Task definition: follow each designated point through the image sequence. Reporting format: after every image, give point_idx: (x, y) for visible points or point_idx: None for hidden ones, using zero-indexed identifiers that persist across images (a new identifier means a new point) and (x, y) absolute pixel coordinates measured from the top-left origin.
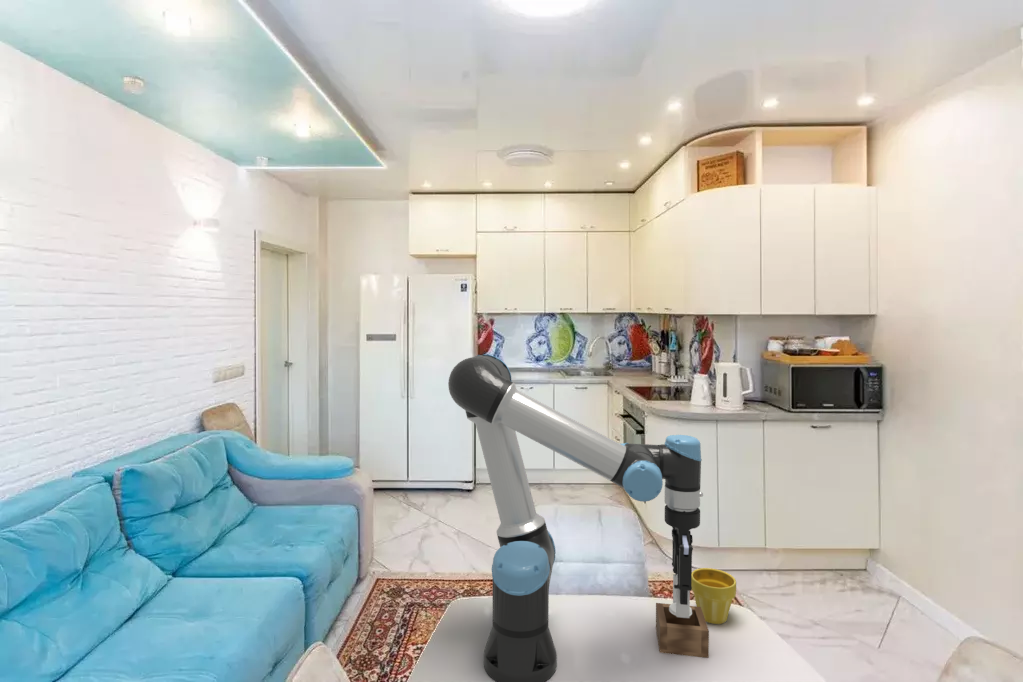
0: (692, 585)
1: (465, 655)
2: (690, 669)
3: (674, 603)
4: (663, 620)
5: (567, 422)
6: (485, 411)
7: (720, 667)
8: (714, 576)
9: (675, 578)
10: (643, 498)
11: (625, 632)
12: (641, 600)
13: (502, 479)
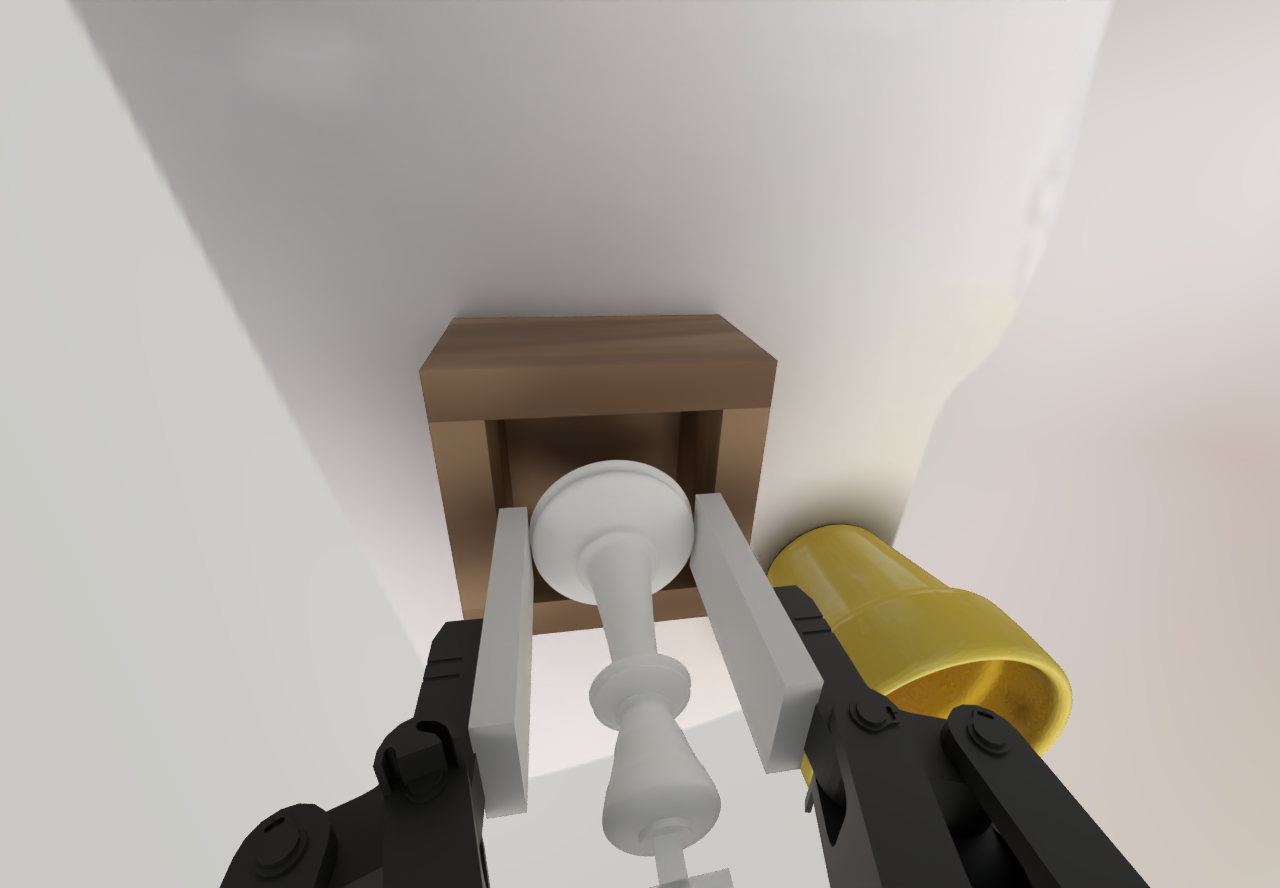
0: (915, 621)
1: None
2: (351, 461)
3: (656, 516)
4: (519, 400)
5: None
6: None
7: (424, 577)
8: (1002, 713)
9: (769, 674)
10: None
11: (635, 95)
12: (1010, 248)
13: None
